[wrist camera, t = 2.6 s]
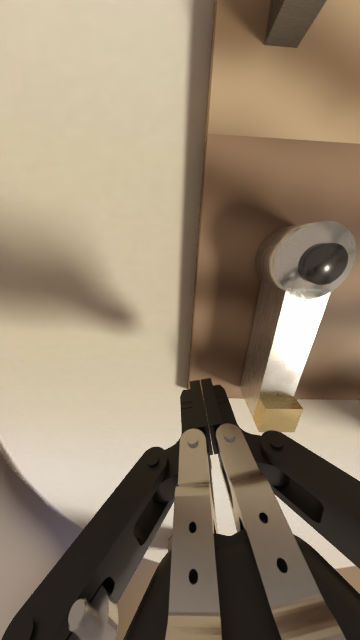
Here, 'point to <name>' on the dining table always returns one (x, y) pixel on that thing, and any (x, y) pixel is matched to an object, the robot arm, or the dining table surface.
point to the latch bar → (290, 314)
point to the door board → (277, 185)
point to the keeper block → (290, 21)
